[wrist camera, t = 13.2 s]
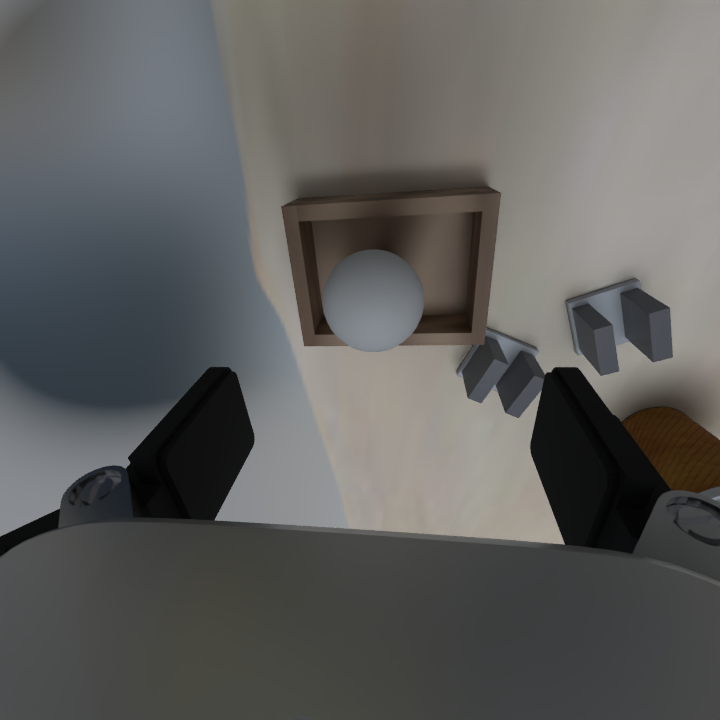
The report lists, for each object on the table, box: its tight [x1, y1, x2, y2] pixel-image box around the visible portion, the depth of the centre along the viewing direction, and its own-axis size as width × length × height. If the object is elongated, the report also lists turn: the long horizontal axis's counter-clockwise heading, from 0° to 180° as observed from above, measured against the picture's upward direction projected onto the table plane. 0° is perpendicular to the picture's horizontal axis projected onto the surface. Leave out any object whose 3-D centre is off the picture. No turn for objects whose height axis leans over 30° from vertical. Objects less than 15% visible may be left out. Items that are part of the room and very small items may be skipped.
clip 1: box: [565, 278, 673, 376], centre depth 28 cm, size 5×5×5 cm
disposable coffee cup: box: [622, 407, 720, 503], centre depth 30 cm, size 10×10×12 cm
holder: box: [281, 187, 501, 346], centre depth 28 cm, size 14×10×4 cm
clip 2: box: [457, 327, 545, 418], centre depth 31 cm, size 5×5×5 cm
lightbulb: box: [323, 249, 424, 352], centre depth 24 cm, size 6×6×11 cm
